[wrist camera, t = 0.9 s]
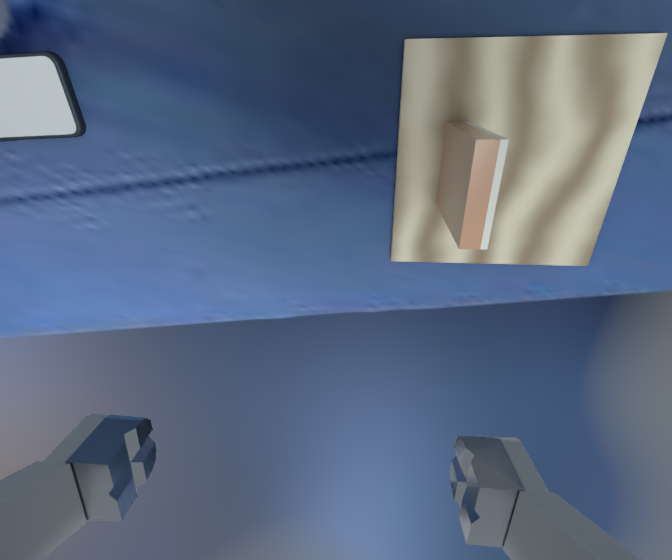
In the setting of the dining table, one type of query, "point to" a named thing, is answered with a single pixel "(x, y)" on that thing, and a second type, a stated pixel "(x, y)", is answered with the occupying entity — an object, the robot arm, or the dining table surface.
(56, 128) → the phone case
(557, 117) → the board
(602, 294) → the dining table surface
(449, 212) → the tile
